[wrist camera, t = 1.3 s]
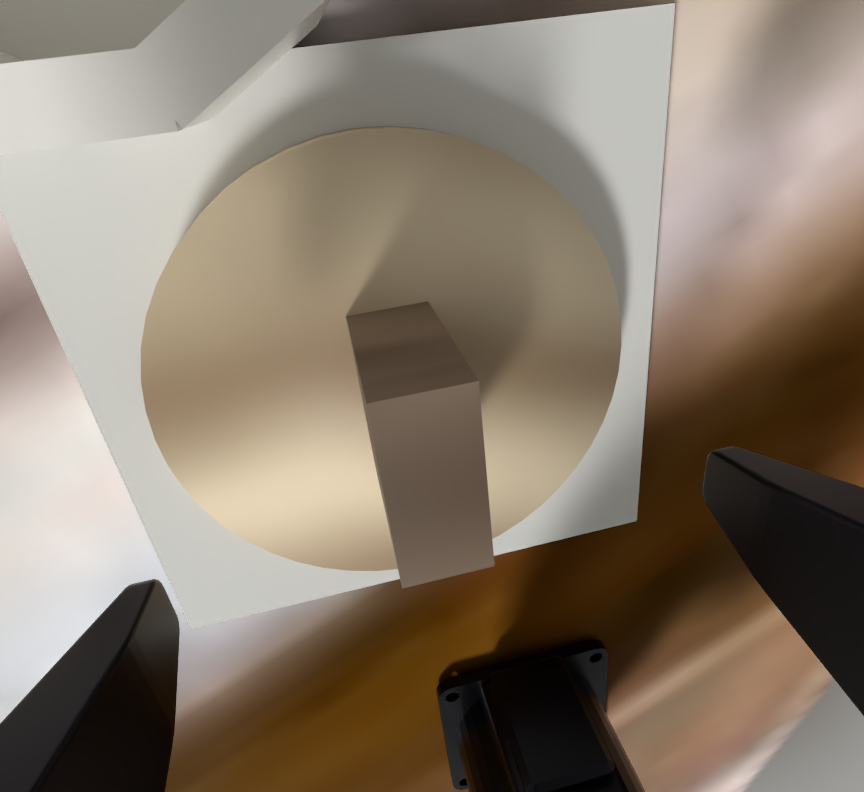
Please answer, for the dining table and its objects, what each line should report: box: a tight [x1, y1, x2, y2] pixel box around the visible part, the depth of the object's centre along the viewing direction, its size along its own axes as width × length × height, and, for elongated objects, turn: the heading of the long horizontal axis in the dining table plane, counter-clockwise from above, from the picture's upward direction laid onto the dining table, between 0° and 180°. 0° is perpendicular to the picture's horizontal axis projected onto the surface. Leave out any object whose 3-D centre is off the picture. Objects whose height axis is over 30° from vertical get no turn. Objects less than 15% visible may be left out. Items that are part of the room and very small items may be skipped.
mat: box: [0, 3, 675, 629], centre depth 15 cm, size 14×14×1 cm
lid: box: [141, 126, 621, 588], centre depth 12 cm, size 11×11×5 cm
